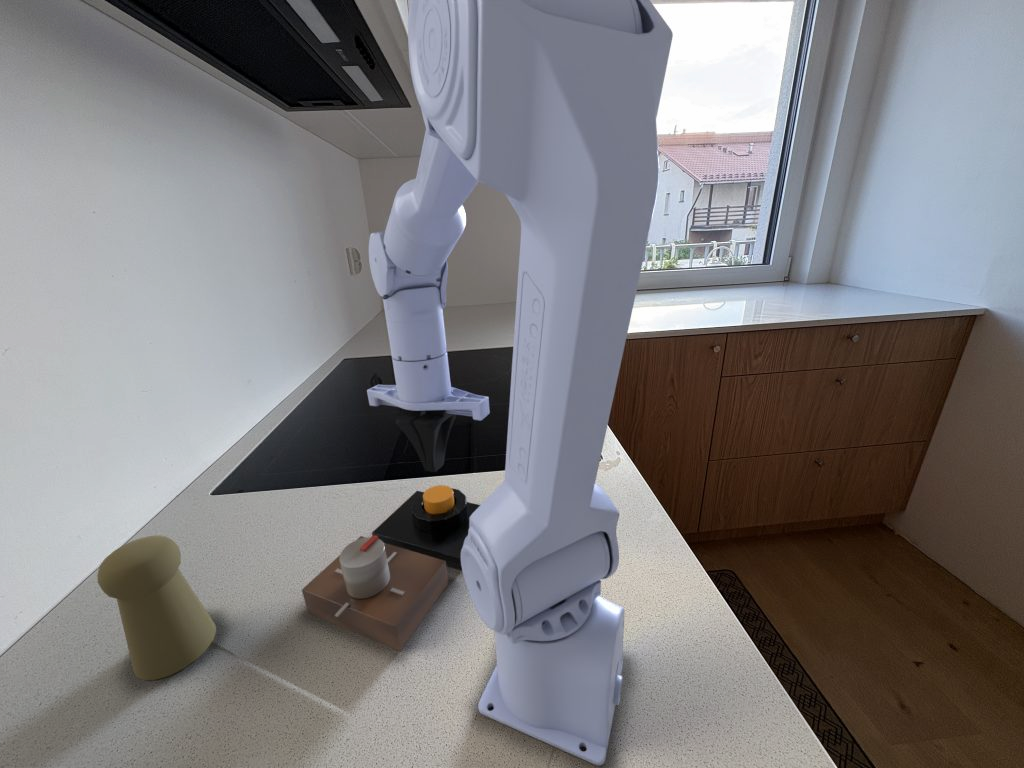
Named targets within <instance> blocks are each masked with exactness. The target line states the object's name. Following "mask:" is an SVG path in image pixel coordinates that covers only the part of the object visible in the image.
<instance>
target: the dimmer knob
mask: <svg viewBox="0 0 1024 768" xmlns="http://www.w3.org/2000/svg"><path fill="white" fill-rule="evenodd" d="M365 537H366V536H365ZM357 539H358V538H357ZM357 539H356V540H354V541H352V542H350V543H349V544H347V545H346V546H345V547H344V548H343V549H342V550H341V552H340V554H339V555H340V558H339V560H340V565H341V569H342V573H343V577H344V581H345V586H346V590H347V592H348V594H349V595H350V596H352V597H354V598H358V599H364V598H369V597H372V596H374V595H376V594H378V593H379V592H381V591H382V590H383V589H384V588H385V587H386V586H387V584H388V582H389V580H390V572H389V567H388V561H387V556H386V551H385V546H384V543H383V542H382V541H381V540H380V539H378V536H376V535H373V536H372V535H371V536H367V537H366V538H361V539H358V540H357Z"/></svg>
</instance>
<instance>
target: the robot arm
mask: <svg viewBox="0 0 1024 768" xmlns="http://www.w3.org/2000/svg"><path fill="white" fill-rule="evenodd" d="M407 19H408V20H407V44H408V45H407V46H408V59H409V68H410V75H411V80H412V81H411V82H412V85H413V89H414V90H413V91H414V93H415V96H416V100H417V102H418V104H419V106H420V111H421V115H422V119H423V123H424V126H425V131H424V136H423V143H422V145H421V146H422V147H421V152H420V157H419V162H418V167H417V171H416V177H415V178H413V179H410V180H408V181H406V182H405V183H403V184H402V185H401V186H400V187H399V188H398V190H397V191H396V194H395V195H394V200H393V203H392V207H391V209H390V213H389V217H388V220H387V223H386V226H385V230H383V231H377V232H372V233H370V235H369V240H368V262H369V268H370V274H371V277H372V281H373V284H374V288H375V289H376V291H377V293H378V295H379V296H380V297H382V302H383V309H384V315H385V323H386V328H387V336H388V343H389V348H390V355H391V361H392V367H393V374H394V380H395V384H377V385H375V386H372V387H371V388H368V389H367V390H366V394H367V399H368V404H369V406H370V407H379V406H380V405H383V406H390V407H397V408H400V409H402V411H401V414H399V415H398V416H397V417H396V418H395V424H396V426H397V427H398V428H399V429H400V430H401V431H402V433H404V435H405V436H406V437H407V438H408V440H409V441H410V442H411V444H412V446H413V447H414V449H415V452H416V454H417V455H418V457H419V460H420V462H421V464H422V466H423V469H424V471H425V472H430V473H437V471H438V470H440V469H441V468H442V467H443V466H444V465H445V458H446V450H447V445H448V441H449V436H450V433H451V430H452V428H453V425H454V422H455V420H456V418H457V416H466V417H472V420H474V421H483V420H484V419H485V418H486V417H488V415H490V413H491V411H490V400H489V399H490V398H489V396H486V395H479V394H475V393H472V392H469V391H466V390H463V389H459V388H457V387H453V386H452V383H451V375H450V365H449V357H448V348H447V339H446V338H447V337H446V329H445V321H444V310H443V309H444V308H446V307H447V283H448V277H449V276H448V275H449V267H448V265H449V264H448V261H447V259H448V258H449V256H450V255H451V253H452V252H453V250H454V248H455V246H456V245H457V243H458V241H459V239H460V238H461V237H462V235H463V233H464V230H465V228H466V224H467V215H466V210H465V207H464V205H463V204H464V202H465V201H466V200H467V199H468V197H469V196H470V195H471V193H472V192H473V190H474V189H475V188H476V186H477V185H478V183H480V184H483V185H484V186H487V187H489V188H491V189H493V190H495V191H497V192H499V193H501V194H503V195H505V196H506V198H507V199H508V201H509V203H510V204H511V206H512V208H513V209H514V211H515V213H516V214H517V216H518V218H519V220H520V243H519V257H518V273H517V287H516V290H517V291H516V301H515V302H516V303H515V319H514V330H513V331H514V333H513V344H512V345H513V347H512V350H513V351H512V360H511V361H512V362H511V375H510V376H511V378H510V389H509V390H510V392H509V393H510V394H509V407H508V421H507V435H506V449H505V450H506V451H505V466H504V480H503V481H502V483H501V484H499V486H498V487H497V488H496V489H495V490H494V491H493V492H492V493H491V494H490V495H489V496H488V497H487V498H486V499H485V500H484V501H483V502H482V503H481V504H479V505H480V506H479V507H478V508H477V509H476V510H475V511H474V512H473V513H472V515H471V516H470V520H469V531H468V536H467V537H466V538H465V540H464V544H463V547H462V550H461V566H462V571H461V572H462V576H463V580H464V582H465V587H466V589H467V592H468V595H469V598H470V600H471V602H472V605H473V607H474V609H475V611H476V613H477V615H478V616H479V619H480V620H481V621H482V622H483V624H484V625H485V626H486V627H487V628H488V629H489V630H491V631H493V632H494V642H495V645H494V646H495V654H496V665H495V667H494V669H493V671H492V673H491V675H490V678H489V680H488V682H487V684H486V685H485V686H486V687H485V688H484V691H483V693H482V695H481V697H480V699H479V700H478V704H477V707H478V708H477V709H478V712H479V714H481V715H483V716H485V717H487V718H489V719H492V720H494V721H496V722H498V723H500V724H502V725H505V726H507V727H509V728H511V729H514V730H517V731H519V732H521V733H523V734H526V735H527V736H530V737H532V738H534V739H536V740H539V741H541V742H543V743H545V744H548V745H550V746H553V747H554V748H557V749H559V750H560V751H563V752H565V753H568V754H571V755H573V756H575V757H576V758H579V759H582V760H583V761H586V762H588V763H590V764H592V765H595V766H602V765H604V763H605V762H606V758H607V752H608V747H609V742H610V736H611V735H610V734H611V730H612V724H613V721H614V715H615V710H616V706H619V705H620V702H621V697H622V690H623V680H624V678H623V676H622V672H623V667H624V660H623V651H624V631H625V608H624V607H623V606H621V605H619V604H616V603H614V602H612V601H610V600H608V599H606V598H605V597H603V596H601V593H602V592H601V591H602V581H601V580H605V579H607V580H608V578H610V577H612V576H613V575H614V574H615V573H616V571H618V568H619V563H620V550H619V541H618V537H617V527H618V522H619V519H620V512H619V510H618V509H617V507H616V506H615V504H614V502H613V501H612V499H611V497H610V496H608V494H607V493H606V492H605V491H604V489H603V488H601V487H600V486H599V484H597V483H596V480H597V476H598V471H599V468H600V467H599V466H600V462H601V457H602V452H603V448H604V445H605V444H604V443H605V439H606V434H607V429H608V426H609V420H610V415H611V411H612V407H613V401H614V397H615V394H616V393H615V392H616V388H617V384H618V379H619V374H620V369H621V365H622V359H623V356H624V351H625V347H626V346H625V345H626V341H627V337H628V336H627V335H628V332H629V327H630V324H631V319H632V313H633V309H634V305H635V300H636V296H637V290H638V286H639V281H640V276H641V272H642V267H643V263H644V258H645V253H646V249H647V243H648V239H649V235H650V230H651V225H652V221H653V216H654V213H655V212H654V211H655V207H656V202H657V197H658V189H659V181H660V161H659V160H660V159H659V144H658V129H657V119H658V113H659V107H660V102H661V97H662V91H663V88H664V83H665V77H666V72H667V67H668V62H669V57H670V53H671V52H670V51H671V48H672V42H673V37H674V36H673V35H674V34H673V31H672V29H671V27H670V26H669V25H668V23H667V22H666V21H665V19H664V18H663V16H662V15H661V14H660V12H659V11H658V9H657V8H656V7H655V6H654V4H653V2H652V1H651V0H409V3H408V18H407ZM489 708H493V709H492V710H489ZM583 747H584V748H585V749H586V750H585V751H582V750H581V748H583Z"/></svg>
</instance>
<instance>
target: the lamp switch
mask: <svg viewBox="0 0 1024 768" xmlns="http://www.w3.org/2000/svg"><path fill="white" fill-rule="evenodd" d="M451 488H452V490H453V494H454V503H455V504H454V507H453V508H452V509H451V510H449V511H447V512H445V513H440V514H430V513H427V512H426V511H425V508H424V501H423V494H424V492H425V491H420V490H416V491H415V492H414V493H412V495H411V496H410V497H409V498H407V499H406V500H405V501H404V502H403V503H402V504H401V505H400V506H399V507H398V508H397V509H395V510H394V511H393V513H391V514H390V515H389V516H388V517H387V518H386V519H385V520H384V521H383V522H382V523H380V525H378V526H377V527H376V528H375V529H374V530H373V531H372V532H371V537H372V536H373V535H376V536H378V539H380V540H381V541H382V542H383V543H386V544H390V545H393V546H397V547H400V548H403V549H407V550H410V551H413V552H417V553H420V554H423V555H427V556H430V557H434V558H437V559H440V560H444V561H446V567H448V568H451V569H454V570H458V571H461V572H463V571H462V566H461V550H462V547H463V544H464V540H465V538H466V537H467V536H468V531H469V520H470V516H471V515H472V513H473V512H474V511H475V510H476V509H477V508H478V507H479V506H480V505H481V504H477V503H474V502H469V501H467V496H466V494H464V493H463V492H462V491H461V490H460V489H457V488H453V487H451Z"/></svg>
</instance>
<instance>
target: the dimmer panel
mask: <svg viewBox="0 0 1024 768" xmlns="http://www.w3.org/2000/svg"><path fill="white" fill-rule="evenodd" d="M361 538H366V536H362V535H361V536H359V537H358V538H357V539H356V540H358V539H361ZM384 546H385V551H386V556H387V561H388V567H389V572H390V580H389V582H388V584H387V586H386V587H385V588H384V589H383V590H382V591H381V592H379V593H378V594H376V595H374V596H372V597H369V598H364V599H358V598H354V597H352V596H350V595H349V594H348V592H347V590H346V586H345V581H344V577H343V573H342V569H341V565H340V560H339V558H340V554H339V555H338V556H337V557H336V558H335V559H334V560H333V561H331V562H330V563H329V564H328V565H327V566H325V568H324V569H322V571H321V572H320V573H318V575H316V576H315V577H314V578H312V579H311V581H309V583H307V584H306V585H305V586H304V587H302V589H301V591H302V592H301V593H302V596H303V600H304V603H305V607H306V611H307V614H309V615H311V616H314V617H316V618H318V619H321V620H323V621H326V622H327V623H330V624H332V625H335V626H337V627H341V628H343V629H344V630H348V631H349V632H352V633H354V634H357V635H360V636H362V637H364V638H367V639H369V640H372V641H374V642H376V643H379V644H381V645H384V646H385V647H388V648H390V649H392V650H395V651H398V652H402V650H403V648H404V647H405V646H406V645H407V643H408V642H409V640H410V639H411V637H412V636H413V634H414V633H415V632H416V631H417V629H418V627H419V626H420V625H421V623H422V622H423V621H424V619H425V618H426V617H427V615H428V613H429V612H430V611H431V609H432V608H433V607H434V605H435V604H436V603H437V601H438V599H439V598H440V597H441V595H442V594H443V592H444V591H445V590H446V588H447V587H448V585H449V578H448V577H449V575H448V570H447V566H446V561H444V560H440V559H437V558H434V557H430V556H427V555H423V554H420V553H417V552H413V551H410V550H407V549H403V548H400V547H397V546H393V545H390V544H386V543H384Z"/></svg>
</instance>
